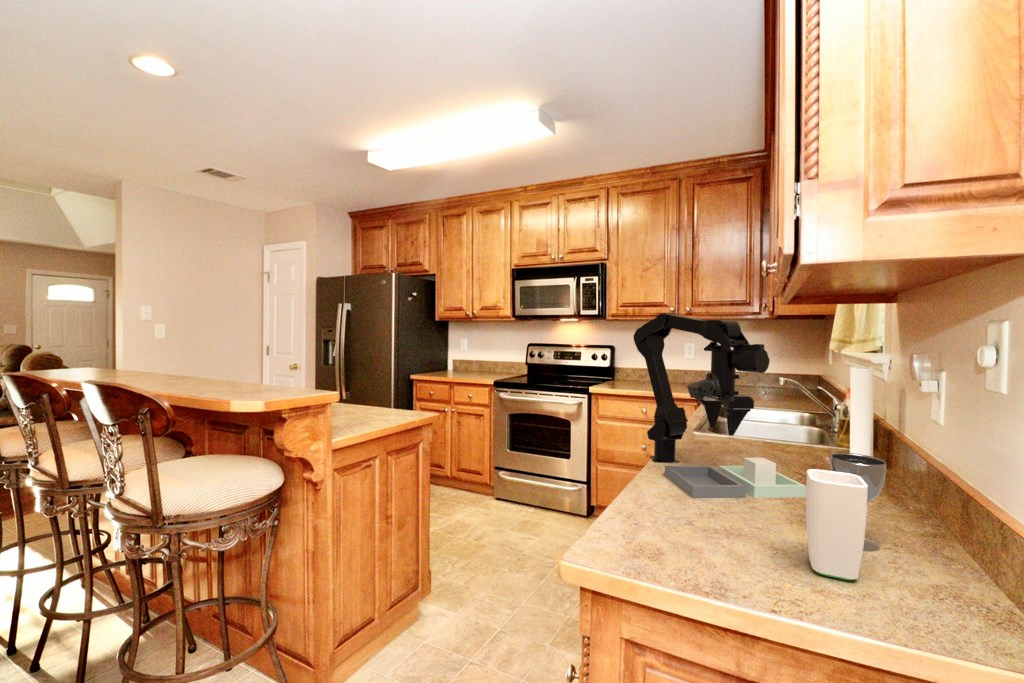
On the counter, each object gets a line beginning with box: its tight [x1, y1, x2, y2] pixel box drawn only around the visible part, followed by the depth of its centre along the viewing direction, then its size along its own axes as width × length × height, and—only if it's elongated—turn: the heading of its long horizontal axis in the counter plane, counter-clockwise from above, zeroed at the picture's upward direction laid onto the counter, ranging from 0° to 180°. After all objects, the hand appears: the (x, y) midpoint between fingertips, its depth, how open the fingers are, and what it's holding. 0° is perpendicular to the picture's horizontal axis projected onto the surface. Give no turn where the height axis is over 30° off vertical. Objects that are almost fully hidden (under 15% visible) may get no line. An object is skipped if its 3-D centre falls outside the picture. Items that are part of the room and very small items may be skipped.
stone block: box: [742, 457, 777, 485], centre depth 114 cm, size 5×5×6 cm
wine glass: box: [830, 452, 887, 552], centre depth 85 cm, size 8×8×15 cm
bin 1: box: [664, 465, 747, 499], centre depth 113 cm, size 16×12×3 cm
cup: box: [805, 468, 868, 581], centre depth 74 cm, size 7×7×15 cm
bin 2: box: [717, 465, 806, 499], centre depth 114 cm, size 16×12×3 cm
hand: (721, 431), depth 120 cm, fingers open, 9 cm apart
